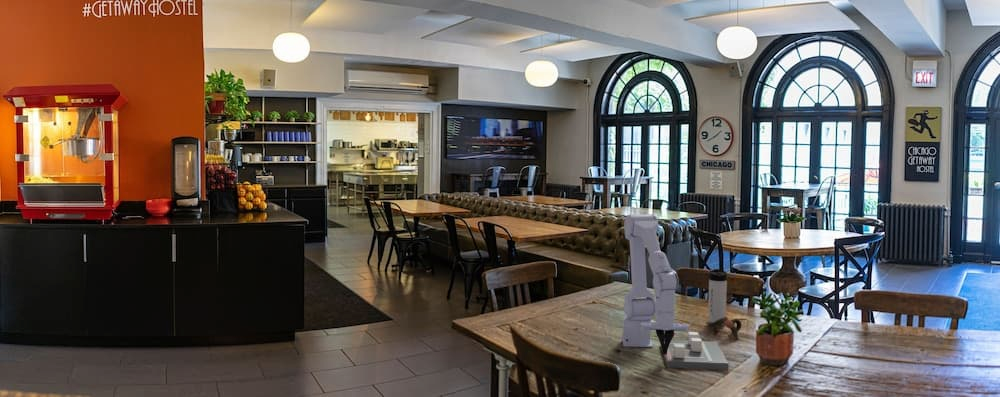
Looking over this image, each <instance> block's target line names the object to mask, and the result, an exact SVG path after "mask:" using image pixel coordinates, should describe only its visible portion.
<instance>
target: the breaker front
mask: <svg viewBox="0 0 1000 397" xmlns="http://www.w3.org/2000/svg"><path fill="white" fill-rule="evenodd" d="M674 357H675V358H685V346H684V344H674Z"/></svg>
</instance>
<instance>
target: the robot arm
mask: <svg viewBox="0 0 1000 397" xmlns="http://www.w3.org/2000/svg"><path fill="white" fill-rule="evenodd" d="M623 226H624V227H623V228H624V237H625V239H626V240H628V241H629V252H630V253H629V254H630V270H631V271H630V273H631V289H630V290H629V291H628V292H627V293H626V294H625V295H624V298H623V299H624V303H623V312H624V315H625V317H623V318H622V320H623V321H622V333H621V340H622V345H623V347H634V348H635V347H637V348H638V347H639V348H653V344H652V343H653V342H652V339H651V331H655V333H656V335H657V339H658V340H659V345H660V348H661V354H662V355H664V354H665V355H667V351H668V347H669V344H670V342H671V340H673V338H674V336H675V332H685V333H688V332H690V325H689V324H687V323H678V322H677V323H675V317H676V316H675V313H676V312H675V311H676V310H675V307H676V306H675V304H676V290H678V289H679V284H680V281H679V276H678V273H677V272H676V271H675V270H674V269H673V268H672V267H671V265H670V262H669V260H668V258H667V254H666V253H665V252H663V251H661V248H660V247H661V246H660V243H659V239H658V236H657V233H658V228H659V219H658V217H657V215H656V214H654V213H652V214H627V215H626V217H625V219H624V225H623ZM645 248H646V249H647V252H648V254H649V256H648V258H647V260H648V264H649V266H650V270H651V272H652V275H653V278H652V286H653V292H654V293H653V292H651V291H650V290H649V289H648V286H647V285H648V284H647V283H648V282H647V266H646V265H647V263H646V249H645ZM653 317H655V322H652V320H653V319H654V318H653ZM664 341H665V344H664Z"/></svg>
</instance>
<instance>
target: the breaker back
mask: <svg viewBox="0 0 1000 397" xmlns="http://www.w3.org/2000/svg"><path fill="white" fill-rule="evenodd" d="M691 338H700V334H699V332H696V331H689V332H687V341H688V343H689V345H691Z"/></svg>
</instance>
